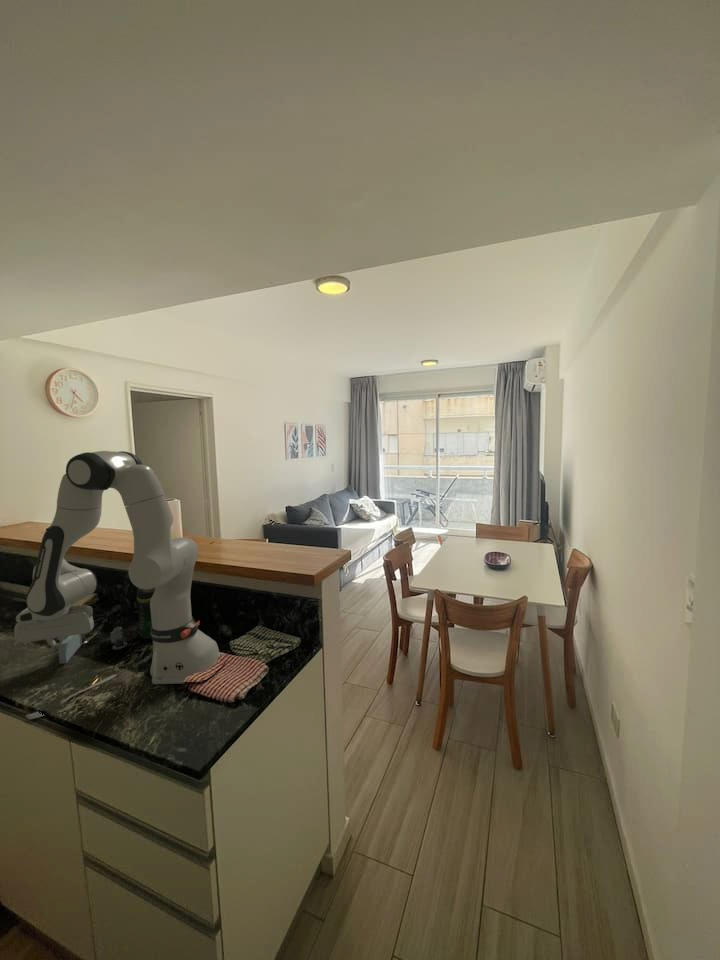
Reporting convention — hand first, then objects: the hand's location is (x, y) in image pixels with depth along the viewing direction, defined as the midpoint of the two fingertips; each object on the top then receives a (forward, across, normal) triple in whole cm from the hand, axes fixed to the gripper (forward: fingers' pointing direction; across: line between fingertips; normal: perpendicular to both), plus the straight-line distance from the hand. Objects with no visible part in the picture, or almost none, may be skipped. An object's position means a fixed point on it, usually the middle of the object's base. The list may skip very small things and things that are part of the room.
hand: (57, 649), depth 121 cm
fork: (+4, -13, +22) cm, 26 cm away
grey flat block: (+4, -2, -3) cm, 5 cm away
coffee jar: (+4, -27, -8) cm, 28 cm away
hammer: (+4, -16, -4) cm, 17 cm away
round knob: (+4, -3, -11) cm, 12 cm away
